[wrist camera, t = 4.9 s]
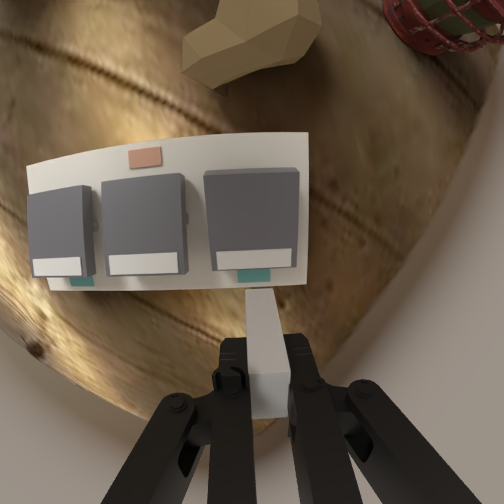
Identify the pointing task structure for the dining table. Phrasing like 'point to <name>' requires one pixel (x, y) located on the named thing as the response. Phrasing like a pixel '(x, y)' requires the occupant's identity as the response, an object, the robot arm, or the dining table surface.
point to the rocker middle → (145, 226)
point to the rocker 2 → (252, 217)
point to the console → (193, 168)
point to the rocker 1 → (61, 233)
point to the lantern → (444, 23)
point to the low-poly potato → (249, 39)
